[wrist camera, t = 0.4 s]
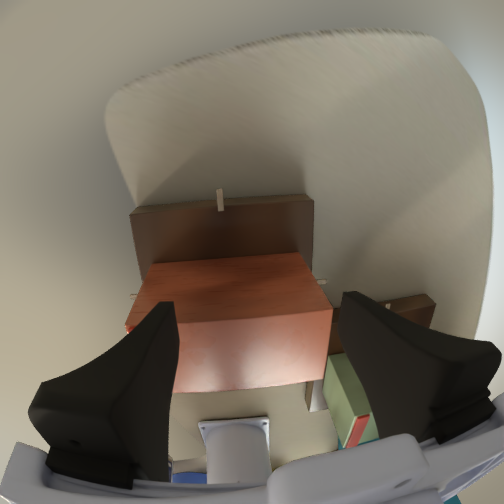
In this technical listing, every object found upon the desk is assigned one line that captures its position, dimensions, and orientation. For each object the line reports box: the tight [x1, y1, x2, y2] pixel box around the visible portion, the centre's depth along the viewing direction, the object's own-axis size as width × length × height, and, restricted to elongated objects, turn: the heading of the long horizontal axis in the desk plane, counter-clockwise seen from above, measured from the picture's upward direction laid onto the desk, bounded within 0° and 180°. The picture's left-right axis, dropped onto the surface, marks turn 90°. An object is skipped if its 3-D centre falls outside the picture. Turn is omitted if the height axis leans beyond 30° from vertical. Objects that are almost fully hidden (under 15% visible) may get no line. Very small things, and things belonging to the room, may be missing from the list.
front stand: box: [129, 188, 327, 299], centre depth 22 cm, size 14×14×2 cm
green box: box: [322, 353, 379, 449], centre depth 22 cm, size 10×5×7 cm, turn 92°
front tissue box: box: [125, 252, 333, 393], centre depth 17 cm, size 10×5×7 cm, turn 92°
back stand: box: [305, 294, 436, 412], centre depth 26 cm, size 14×14×2 cm
